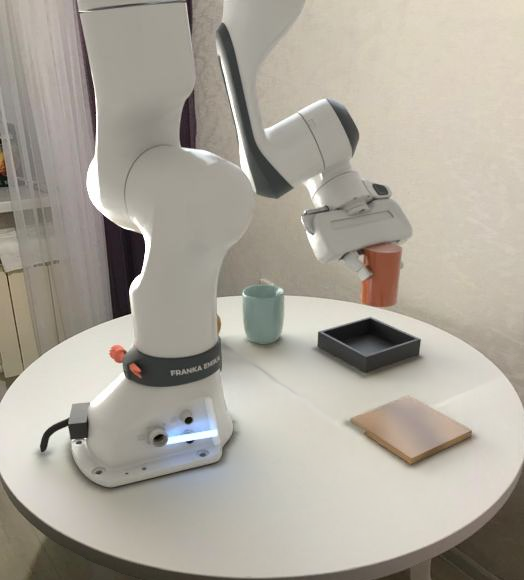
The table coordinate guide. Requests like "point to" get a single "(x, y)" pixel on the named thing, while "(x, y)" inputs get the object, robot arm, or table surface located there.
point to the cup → (263, 313)
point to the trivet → (411, 429)
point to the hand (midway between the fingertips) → (384, 273)
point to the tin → (368, 344)
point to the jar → (382, 275)
